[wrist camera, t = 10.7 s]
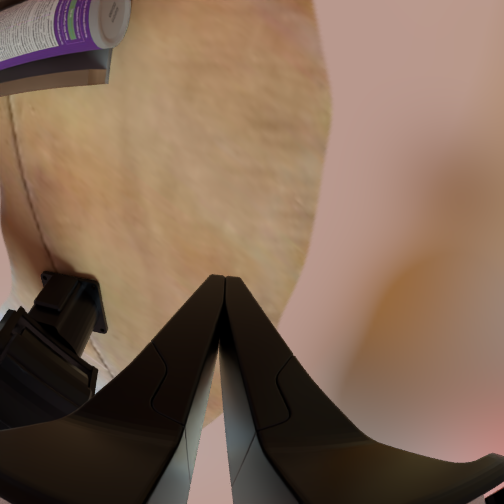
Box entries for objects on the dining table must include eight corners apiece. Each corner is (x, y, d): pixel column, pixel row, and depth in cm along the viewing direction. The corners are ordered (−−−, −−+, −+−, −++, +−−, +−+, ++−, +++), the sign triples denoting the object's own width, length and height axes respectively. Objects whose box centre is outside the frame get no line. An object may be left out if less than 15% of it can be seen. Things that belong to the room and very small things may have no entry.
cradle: (108, 83, 16) (87, 85, 13) (-33, 103, 14) (-55, 111, 12) (129, -33, 11) (113, -47, 9) (-23, 13, 10) (-44, 13, 7)
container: (130, 39, 15) (-18, 70, 13) (133, -24, 11) (-23, 24, 10) (98, 57, 12) (-54, 95, 10) (98, -22, 8) (-63, 44, 7)
